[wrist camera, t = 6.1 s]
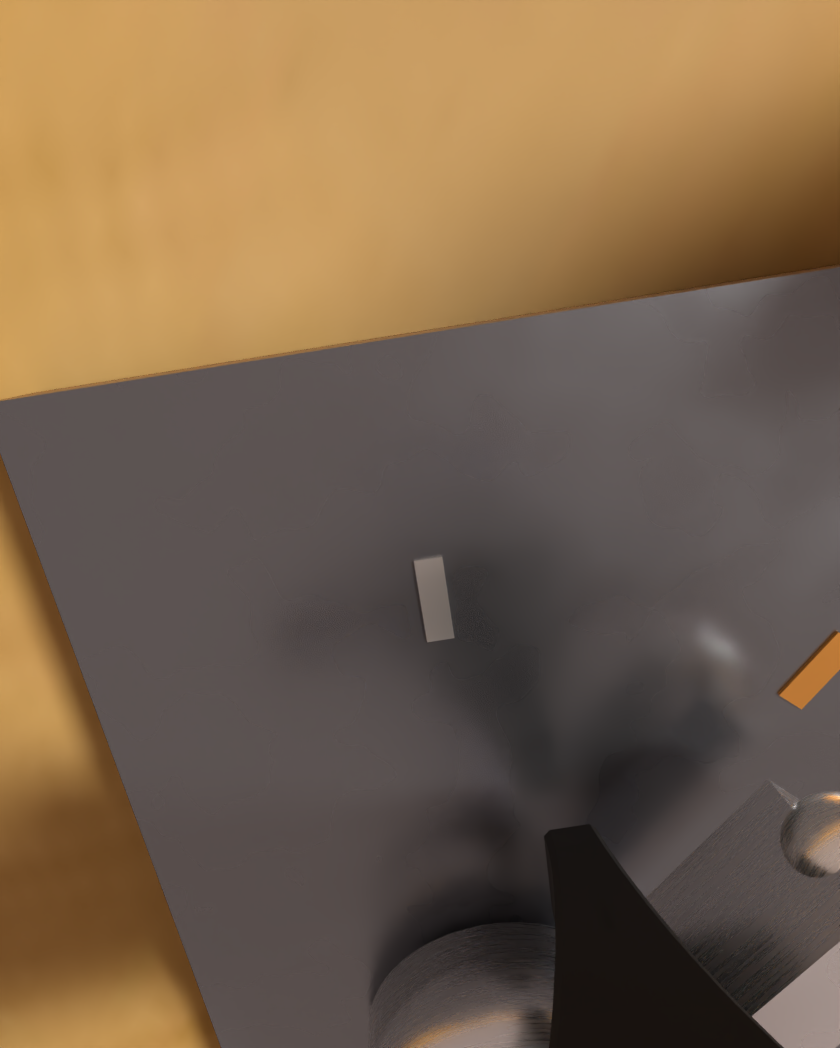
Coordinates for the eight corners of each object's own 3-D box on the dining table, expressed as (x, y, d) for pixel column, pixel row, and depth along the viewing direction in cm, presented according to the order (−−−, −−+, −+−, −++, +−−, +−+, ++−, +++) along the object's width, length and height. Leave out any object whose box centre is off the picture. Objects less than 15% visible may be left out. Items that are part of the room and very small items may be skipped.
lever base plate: (813, 1031, 17) (879, 1143, 15) (280, 1110, 18) (262, 1234, 15) (868, 260, 11) (998, 244, 9) (33, 392, 11) (-63, 413, 9)
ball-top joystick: (522, 1138, 16) (559, 1370, 12) (317, 1051, 14) (292, 1281, 11) (906, 795, 13) (1096, 973, 9) (691, 647, 11) (819, 790, 8)
